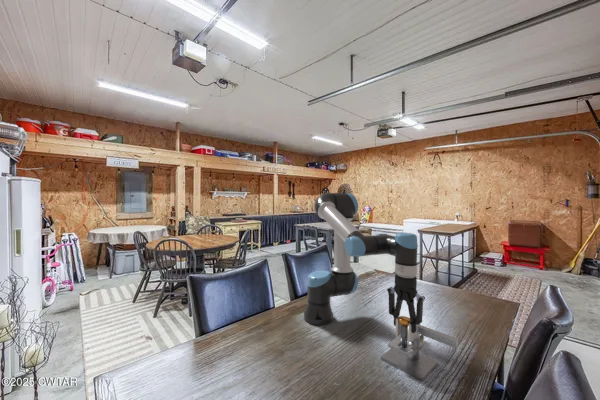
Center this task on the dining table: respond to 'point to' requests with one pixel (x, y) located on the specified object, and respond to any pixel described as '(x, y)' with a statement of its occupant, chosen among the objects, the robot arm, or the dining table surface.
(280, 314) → the dining table surface
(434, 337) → the grey lever mechanism
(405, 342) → the gold knobbed rod
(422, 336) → the pipe fitting
